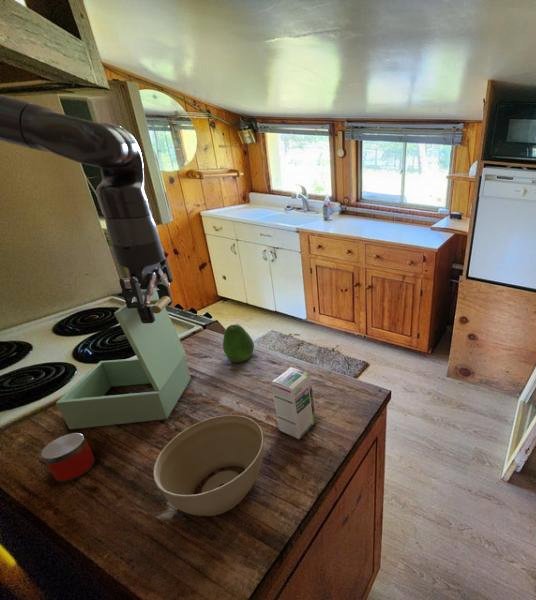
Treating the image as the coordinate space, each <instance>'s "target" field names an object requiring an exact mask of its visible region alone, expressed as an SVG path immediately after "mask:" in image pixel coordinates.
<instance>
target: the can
mask: <svg viewBox="0 0 536 600" xmlns="http://www.w3.org/2000/svg"><path fill="white" fill-rule="evenodd" d="M93 453H94V452H93V451H92V450H91V447H90V446H89V443H88V441H87V440H86V438H85V436H84V434H82V433H79V432H72V433H68V434H64V435H62V436H60V437H58V438H55V439H53V440H52V441H50V442H49V443H48V444H47V445H46V446H44V447H43V449H42V450H41V453H40V457H41V458H42V460H43V462H44V464H45V465H46V467H47V469H48V471H49V472H50V473H51V475H52V477H53V478H54V479H55V481H56V482H59V483H60V482H61V483H63V482H69V481H73V480H75V479H77V478H80V477H81V476H83V475H84V474H86V473H87V472H89V470H91V468H92V467H93V466H94V465H95V463H96V458H95V455H94V454H93Z"/></svg>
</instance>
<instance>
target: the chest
mask: <svg viewBox="0 0 536 600" xmlns="http://www.w3.org/2000/svg"><path fill="white" fill-rule="evenodd" d="M191 379H192V377H191V374H190V370H189V366H188V363H187V360H186V354H185V355H184V356H183V358H182V359H181V361H180V362H179V364H178V365H177V367H176V368H175V369H174V371H173V372H172V374H171V375H170V377H169V378H168V380H167V381H166V383H165V384H164V386H163V387H162V388H161V390H160V391H158V392H155V391H145V392H134V393H133V392H132V393H123V394H113V395H111V394H110V395H106V394H107V393H108V391H110V389H111V388H112V387H122V386H124V387H125V386H134V385H147V384H151V382H150V380H149V378H148V377H147V375H146V373H145V371H144V369H143V367H142V365H141V363H140V361H139V360H138V358H137V357H136V358H126V359H112V360H111V359H110V360H100V361H98V363H96V364H95V365H94V366H92V368H91V369H90V370H89V371H88V372H87V373H86V374H85V375H84V376H83V377H81V378H80V379H79V380H78V381H77V382H76V383H75V384H74V385H73V386H72V387H71V388H69V390H68V391H67V392H65V394H64V395H62V396H61V397H60V398H59V399H58V400H57V401H56V402H55V405H56V406H57V409H58V410H59V412H60V414H61V416H62V418H63V420H64V421H65V424H66V425H67V427H68V430H75V429H84V428H85V429H86V428H95V427H104V426H114V425H123V424H132V423H142V422H151V421H152V422H153V421H160V420H168V418H169V416H170V415H171V414H172V411H173V409H174V408H175V407H176V405H177V403H178V401H179V399H180V397H181V396H182V394H183V392H184V391H185V389H186V387H188V384H189V383H190V380H191Z"/></svg>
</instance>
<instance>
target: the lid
mask: <svg viewBox="0 0 536 600" xmlns="http://www.w3.org/2000/svg"><path fill="white" fill-rule="evenodd" d="M142 291H146V290H142ZM142 297H143V300H144V296H142ZM131 299H132V302H133V297H131ZM170 302H171V299H170V298H169V297H168V296H163V297H162V298H161V299H159V296H158V293H157V288H156V287H155V288H154V294H153V295H152V296H151V297H150V305H151V307H152V311H153V314H154V317H155V321H154V322H153V323H145V324H144V323H142V322H141V319H140V316H139V313H138V310H137V308H130V309H128V308H127V306H126V303H125V304H123V305H122V306H121V307H120V308H118V309H117V310H116V311H115V312H114V311H113V314H114V317H115V318H116V320H117V322H118V324H119V325H120V327H121V329H122V332H123V333H124V335H125V337H126V339H127V341H128V343H129V345H130V347H131V349H132V350H133V352H134V354H135V356H136V359H137V358H138V360H139V361H140V363H141V365H142V367H143V369H144V371H145V373H146V375H147V377H148V378H149V380H150V382H151V383H150V384H151V386H152V388H153V390H154V392H158V391H160V390H161V388H162V387H163V386H164V384H165V383H166V381H167V380H168V378H169V377H170V375H171V374H172V372H173V371H174V369H175V368H176V367H177V365H178V364H179V362H180V361H181V359H182V358H183V356H184V355H185V356H186V350H185V348H184V346H183V344H182V341H181V339H180V337H179V335H178V332H177V330H176V328H175V325H174V324H173V320H172V319H171V317H170V315H169V313H168V310H167V308H166V307H167V306H169V305H168V304H169V303H170Z"/></svg>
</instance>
